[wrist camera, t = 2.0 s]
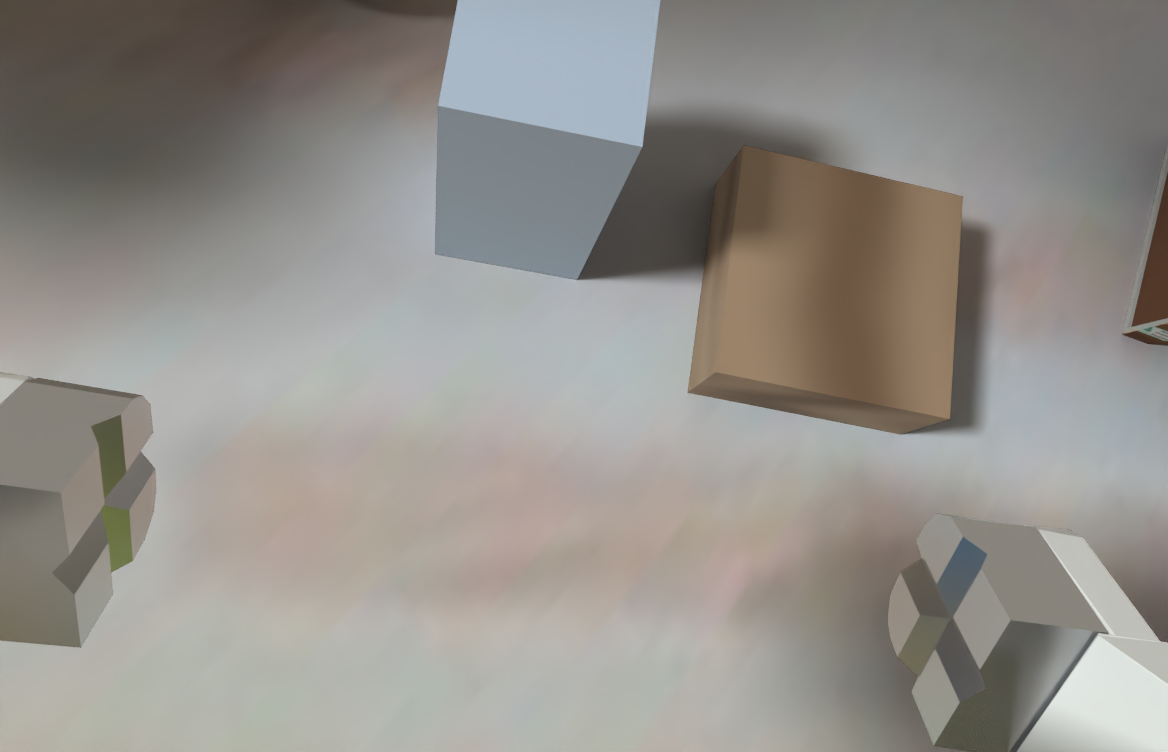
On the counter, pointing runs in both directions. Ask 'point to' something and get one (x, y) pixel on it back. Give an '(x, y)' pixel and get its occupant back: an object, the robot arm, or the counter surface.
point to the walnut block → (828, 294)
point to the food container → (1152, 274)
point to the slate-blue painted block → (539, 127)
